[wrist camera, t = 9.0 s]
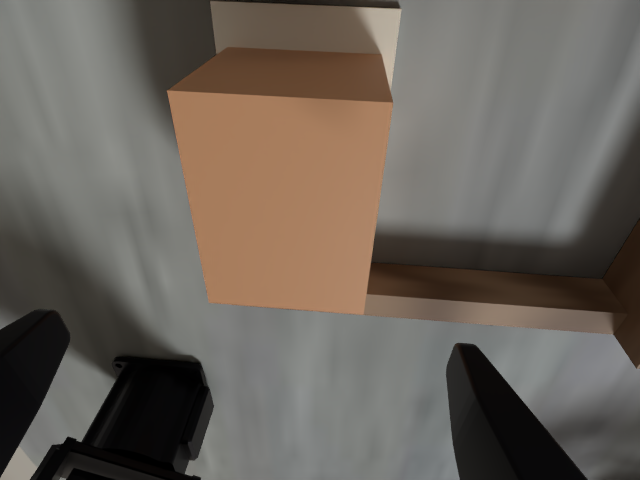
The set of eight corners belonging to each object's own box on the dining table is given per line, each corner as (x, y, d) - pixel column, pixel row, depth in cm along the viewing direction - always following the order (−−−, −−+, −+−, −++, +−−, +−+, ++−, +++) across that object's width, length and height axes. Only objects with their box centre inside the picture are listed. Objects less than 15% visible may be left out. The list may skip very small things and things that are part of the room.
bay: (243, 273, 22) (221, 334, 19) (201, -88, 13) (140, -103, 9) (617, 301, 22) (669, 371, 18) (868, -66, 12) (1086, -74, 8)
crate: (244, 218, 20) (209, 302, 15) (227, 47, 15) (166, 90, 10) (362, 226, 20) (363, 314, 15) (381, 54, 15) (393, 102, 10)
